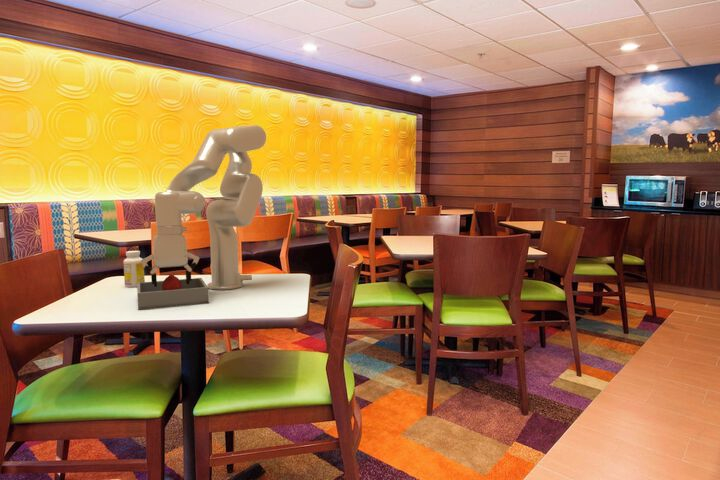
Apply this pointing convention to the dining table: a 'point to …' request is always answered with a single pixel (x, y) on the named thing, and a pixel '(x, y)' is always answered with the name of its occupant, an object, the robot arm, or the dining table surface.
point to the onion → (171, 283)
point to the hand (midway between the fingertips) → (171, 284)
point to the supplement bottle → (133, 269)
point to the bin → (172, 294)
